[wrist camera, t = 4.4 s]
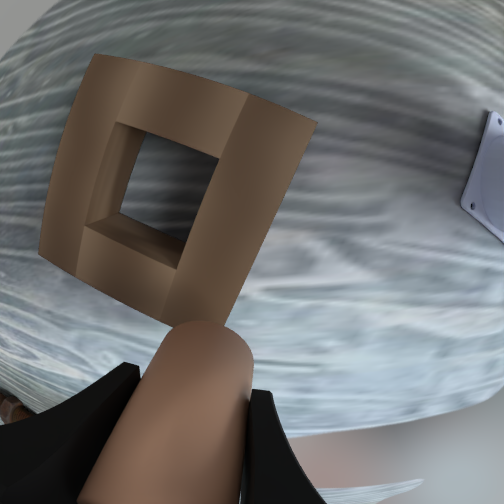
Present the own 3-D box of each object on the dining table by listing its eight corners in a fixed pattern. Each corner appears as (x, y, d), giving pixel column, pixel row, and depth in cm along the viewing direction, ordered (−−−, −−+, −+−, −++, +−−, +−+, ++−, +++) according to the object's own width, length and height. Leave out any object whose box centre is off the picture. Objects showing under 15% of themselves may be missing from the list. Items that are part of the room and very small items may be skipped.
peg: (273, 359, 11) (269, 548, 4) (217, 405, 12) (183, 556, 5) (194, 301, 11) (99, 487, 3) (146, 358, 12) (65, 504, 4)
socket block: (306, 132, 15) (317, 122, 11) (225, 310, 19) (214, 345, 15) (126, 71, 15) (94, 53, 11) (73, 237, 18) (38, 254, 14)
